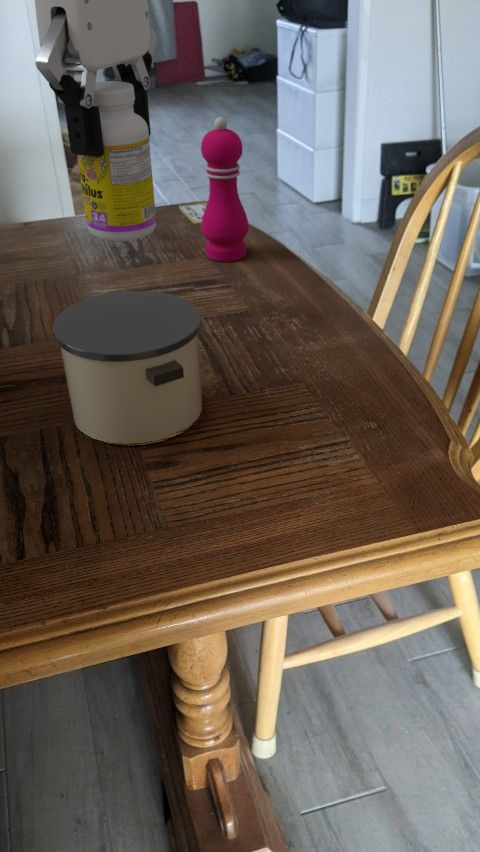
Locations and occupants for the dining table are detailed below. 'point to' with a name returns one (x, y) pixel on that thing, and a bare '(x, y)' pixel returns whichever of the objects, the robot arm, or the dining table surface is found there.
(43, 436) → the dining table surface
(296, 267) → the dining table surface
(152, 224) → the supplement bottle
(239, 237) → the pepper mill
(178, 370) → the pot
